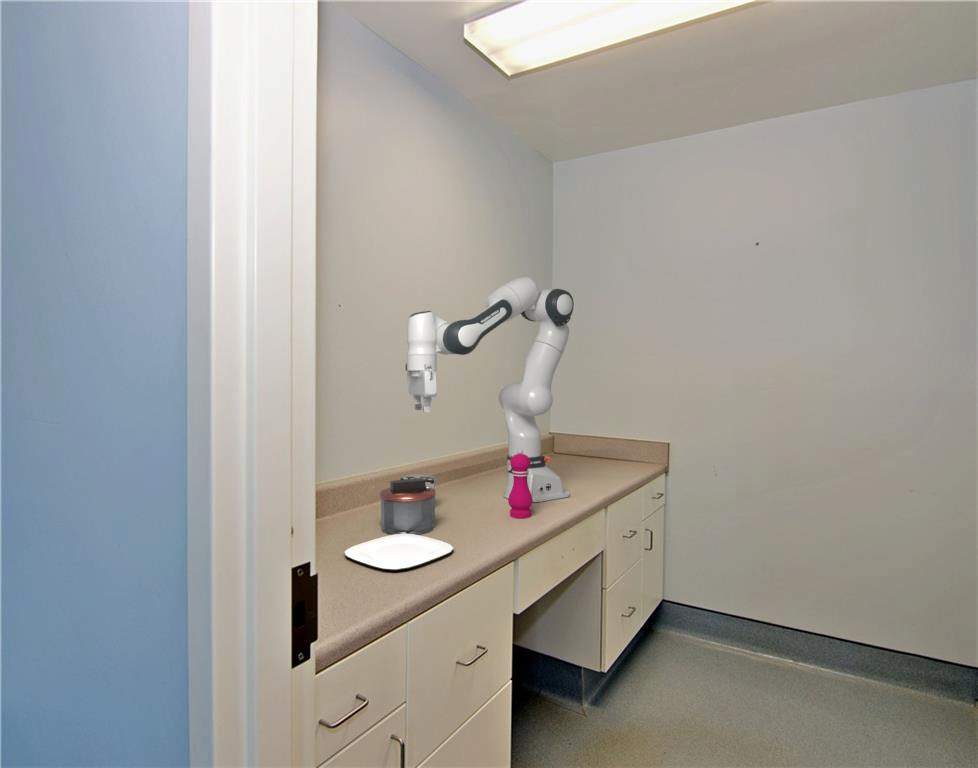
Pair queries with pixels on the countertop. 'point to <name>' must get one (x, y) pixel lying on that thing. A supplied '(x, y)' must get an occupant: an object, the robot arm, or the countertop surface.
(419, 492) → the lid
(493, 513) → the countertop surface
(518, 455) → the pepper mill
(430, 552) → the plate
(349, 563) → the countertop surface
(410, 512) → the pot
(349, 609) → the countertop surface
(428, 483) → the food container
